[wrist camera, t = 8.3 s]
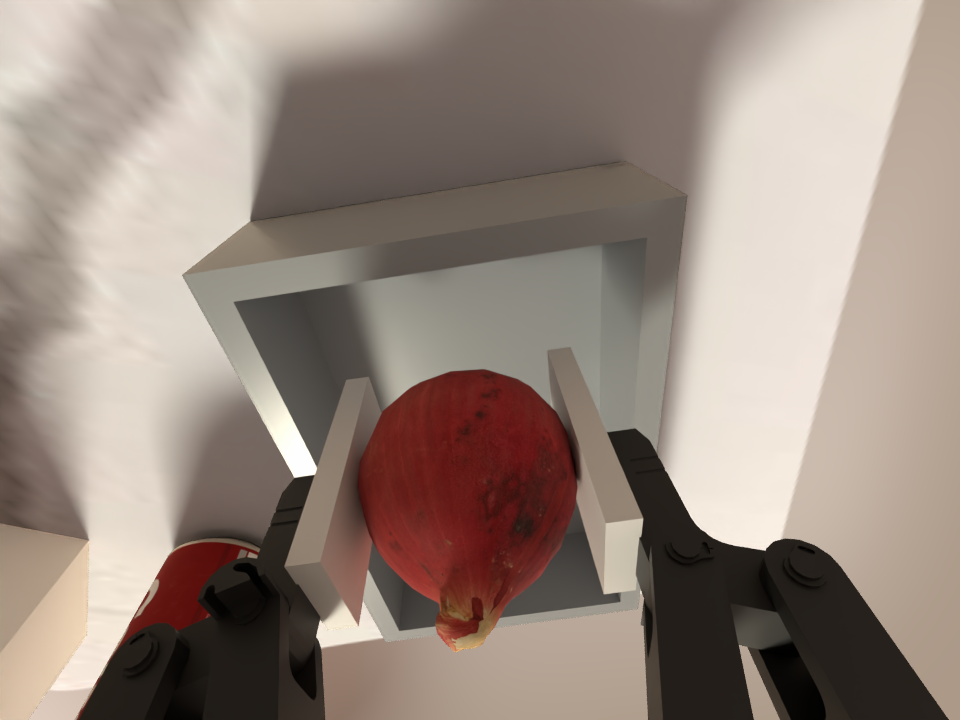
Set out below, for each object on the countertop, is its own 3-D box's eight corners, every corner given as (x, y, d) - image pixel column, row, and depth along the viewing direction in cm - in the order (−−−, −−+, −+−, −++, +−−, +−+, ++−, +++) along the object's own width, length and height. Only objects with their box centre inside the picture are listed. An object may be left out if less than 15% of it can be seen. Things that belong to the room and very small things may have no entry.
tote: (249, 221, 16) (182, 275, 12) (625, 161, 16) (687, 195, 12) (395, 558, 29) (385, 642, 25) (610, 529, 28) (638, 609, 24)
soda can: (268, 523, 26) (156, 807, 16) (300, 585, 30) (225, 847, 20) (152, 533, 26) (-33, 824, 16) (199, 594, 30) (73, 861, 20)
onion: (470, 283, 13) (490, 508, 6) (581, 393, 16) (676, 635, 9) (345, 392, 15) (261, 651, 8) (461, 474, 18) (467, 722, 11)
